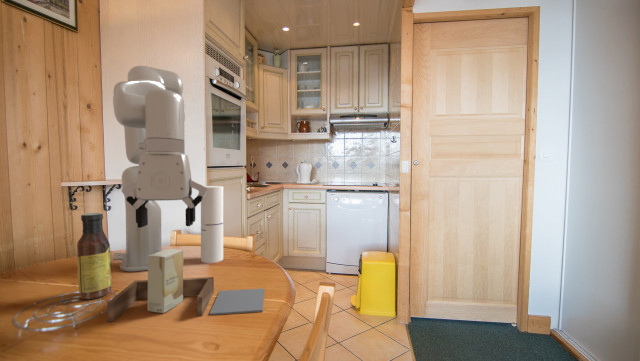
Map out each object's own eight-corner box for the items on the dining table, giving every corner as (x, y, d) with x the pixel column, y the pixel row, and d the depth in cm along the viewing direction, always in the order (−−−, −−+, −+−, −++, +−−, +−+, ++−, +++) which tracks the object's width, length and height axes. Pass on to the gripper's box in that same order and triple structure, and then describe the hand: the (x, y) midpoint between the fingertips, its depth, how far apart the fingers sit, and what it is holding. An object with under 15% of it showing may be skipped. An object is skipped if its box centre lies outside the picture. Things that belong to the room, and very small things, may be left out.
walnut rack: (107, 321, 55) (107, 302, 55) (135, 297, 66) (134, 280, 66) (202, 315, 58) (202, 297, 58) (213, 292, 69) (213, 277, 69)
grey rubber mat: (209, 315, 59) (209, 313, 59) (219, 292, 69) (219, 290, 69) (262, 311, 60) (262, 309, 60) (264, 290, 71) (264, 288, 71)
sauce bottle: (117, 291, 69) (116, 212, 68) (89, 302, 63) (88, 216, 62) (99, 287, 71) (98, 211, 70) (71, 298, 65) (69, 214, 64)
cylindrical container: (218, 263, 91) (218, 187, 90) (197, 262, 91) (196, 187, 90) (226, 256, 98) (226, 186, 97) (206, 256, 98) (206, 185, 97)
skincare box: (164, 314, 59) (163, 257, 58) (146, 311, 60) (146, 255, 59) (184, 300, 65) (184, 249, 65) (168, 298, 66) (168, 247, 65)
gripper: (112, 146, 56) (113, 230, 56) (202, 147, 59) (203, 228, 59) (131, 149, 63) (132, 224, 64) (210, 150, 66) (211, 222, 66)
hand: (166, 225), depth 61 cm, fingers open, 9 cm apart
